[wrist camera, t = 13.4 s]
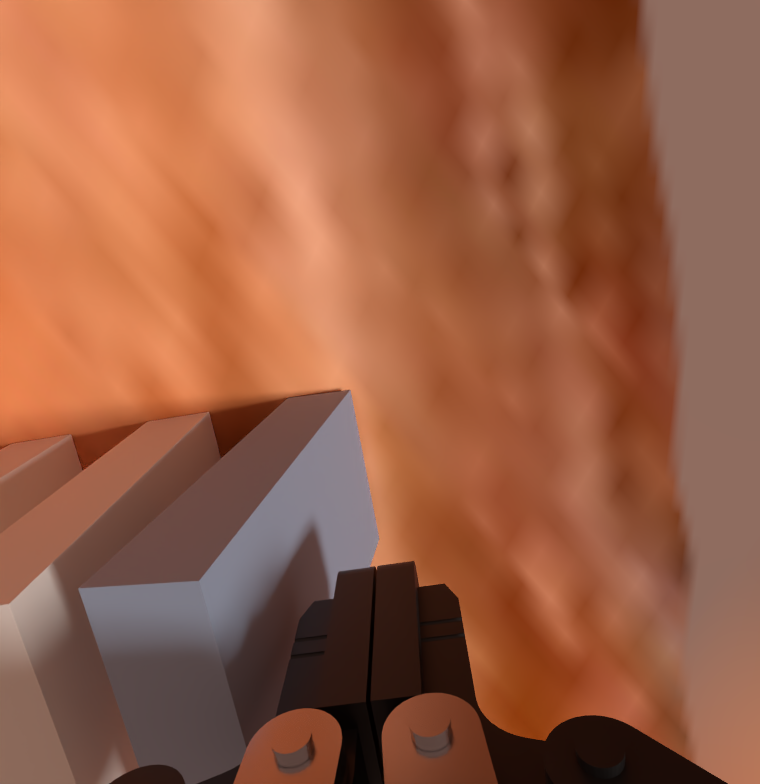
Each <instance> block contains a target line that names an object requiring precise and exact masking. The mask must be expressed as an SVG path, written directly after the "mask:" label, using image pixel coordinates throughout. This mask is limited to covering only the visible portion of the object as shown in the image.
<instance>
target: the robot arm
mask: <svg viewBox="0 0 760 784" xmlns="http://www.w3.org/2000/svg"><path fill="white" fill-rule="evenodd" d="M109 784H185V781H184V779H183V777H182V775H181V774H180V772H179V771H178V770H176V769H175V768H173V767H170V766H167V765H160V764H157V765H148V766H143V767H140V768H137V769H134V770H132V771H129V772H127V773H125V774H123V775H122V776H120V777H118V778H117V779H115V780H113V781H112V782H111V783H109ZM197 784H728V783H726V782H724V781H722V780H721V779H719V778H718V777H716V776H714V775H712V774H711V773H709V772H707V771H706V770H704V769H702V768H701V767H699V766H697V765H696V764H694V763H692V762H691V761H689V760H687V759H686V758H684V757H682V756H681V755H679V754H677V753H676V752H674V751H672V750H670V749H669V748H667V747H665V746H664V745H662V744H660V743H659V742H657V741H655V740H654V739H652V738H650V737H649V736H647V735H645V734H644V733H642V732H640V731H639V730H637V729H635V728H634V727H632V726H630V725H628V724H626V723H624V722H622V721H619V720H616V719H613V718H609V717H605V716H596V715H591V716H580V717H575V718H572V719H569V720H567V721H565V722H563V723H561V724H559V725H558V726H557V727H555V728H554V729H553V731H552V732H551V733H550V734H549V736H548V737H547V739H546V741H542V740H536V739H530V738H524V737H520V736H516V735H513V734H510V733H508V732H506V731H504V730H502V729H500V728H498V727H497V726H495V725H494V724H492V723H491V722H490V721H489V720H488V719H487V718H486V717H485V716H484V714H483V713H482V712H481V710H480V708H479V706H478V704H477V701H476V697H475V691H474V685H473V679H472V674H471V668H470V662H469V657H468V651H467V645H466V640H465V634H464V628H463V623H462V617H461V611H460V605H459V600H458V598H457V596H456V595H455V594H454V593H453V592H452V591H451V590H450V589H449V588H448V587H447V586H446V585H445V584H438V585H431V586H423V587H419V584H418V578H417V572H416V566H415V562H414V561H411V562H404V563H396V564H389V565H382V566H378V567H377V570H376V567H368V568H360V569H353V570H346V571H339V572H338V575H337V580H336V586H335V592H334V598H333V599H327V600H319V601H314V602H313V603H312V604H311V606H310V607H309V608H308V609H307V611H306V612H305V613H304V614H303V616H302V617H301V618H300V619H299V623H298V627H297V631H296V635H295V643H293V647H292V651H291V659H290V660H289V663H288V668H287V672H286V676H285V680H284V684H283V688H282V692H281V696H280V700H279V704H278V708H277V712H276V716H275V718H273V719H272V720H270V721H269V722H267V723H266V724H265V725H264V726H262V727H261V728H260V729H259V730H258V731H257V733H256V734H255V735H254V736H253V738H252V739H251V741H250V742H249V744H248V746H247V748H246V751H245V754H244V756H243V759H242V762H241V764H239V765H238V766H236V767H234V768H233V769H231V770H229V771H226V772H224V773H222V774H219V775H217V776H214V777H212V778H209V779H207V780H204V781H202V782H199V783H197Z"/></svg>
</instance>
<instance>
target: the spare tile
mask: <svg viewBox="0 0 760 784" xmlns="http://www.w3.org/2000/svg"><path fill="white" fill-rule="evenodd" d="M378 541H379V535H378V530H377V524H376V519H375V514H374V509H373V504H372V499H371V494H370V488H369V483H368V478H367V473H366V468H365V463H364V458H363V452H362V447H361V442H360V437H359V432H358V427H357V422H356V416H355V411H354V406H353V401H352V396H351V391H350V390H345V391H338V392H330V393H322V394H314V395H306V396H299V397H291V398H287V399H286V400H285V401H284V402H283V403H282V404H281V405H279V406H278V407H277V408H276V409H275V410H274V411H273V412H272V413H271V414H270V415H268V416H267V417H266V418H265V419H264V420H263V421H262V422H261V423H260V424H258V425H257V426H256V427H255V428H254V429H253V430H252V431H251V432H250V433H249V434H247V435H246V436H245V437H244V438H243V439H242V440H241V441H240V442H239V443H238V444H236V445H235V446H234V447H233V448H232V449H231V450H230V451H229V452H228V453H227V454H225V455H224V456H223V457H222V458H221V459H220V460H219V461H218V462H217V463H216V464H214V465H213V466H212V467H211V468H210V469H209V470H208V471H207V472H206V473H205V474H203V475H202V476H201V477H200V478H199V479H198V480H197V481H196V482H195V483H194V484H192V485H191V486H190V487H189V488H188V489H187V490H186V491H185V492H184V493H183V494H181V495H180V496H179V497H178V498H177V499H176V500H175V501H174V502H173V503H172V504H170V505H169V506H168V507H167V508H166V509H165V510H164V511H163V512H162V513H161V514H159V515H158V516H157V517H156V518H155V519H154V520H153V521H152V522H151V523H150V524H148V525H147V526H146V527H145V528H144V529H143V530H142V531H141V532H140V533H139V534H137V535H136V536H135V537H134V538H133V539H132V540H131V541H130V542H129V543H128V544H126V545H125V546H124V547H123V548H122V549H121V550H120V551H119V552H118V553H117V554H115V555H114V556H113V557H112V558H111V559H110V560H109V561H108V562H107V563H105V564H104V565H103V566H102V567H101V568H100V569H99V570H98V571H97V572H96V573H94V574H93V575H92V576H91V577H90V578H89V579H88V580H87V581H86V582H85V583H83V584H82V585H81V586H80V587H79V588H78V589H79V592H80V595H81V598H82V601H83V604H84V607H85V610H86V613H87V616H88V619H89V622H90V625H91V628H92V631H93V633H94V636H95V639H96V642H97V645H98V648H99V651H100V654H101V657H102V660H103V663H104V666H105V669H106V672H107V675H108V678H109V680H110V683H111V686H112V689H113V692H114V695H115V698H116V701H117V704H118V707H119V710H120V713H121V716H122V719H123V722H124V724H125V727H126V730H127V733H128V736H129V739H130V742H131V745H132V748H133V751H134V754H135V757H136V760H137V763H138V766H139V768H140V767H143V766H148V765H157V764H160V765H167V766H170V767H173V768H175V769H176V770H178V771H179V772H180V774H181V775H182V777H183V779H184V781H185V784H197V783H199V782H202V781H204V780H207V779H209V778H212V777H214V776H217V775H219V774H222V773H224V772H226V771H229V770H231V769H233V768H234V767H236V766H238V765H239V764H241V762H242V759H243V756H244V754H245V751H246V748H247V746H248V744H249V742H250V741H251V739H252V738H253V736H254V735H255V734H256V733H257V731H258V730H259V729H260V728H261V727H262V726H264V725H265V724H266V723H267V722H269V721H270V720H272V719H273V718H275V716H276V712H277V708H278V704H279V700H280V696H281V692H282V688H283V684H284V680H285V676H286V672H287V668H288V663H289V660H290V659H291V651H292V647H293V643H295V635H296V631H297V627H298V623H299V619H300V618H301V617H302V616H303V614H304V613H305V612H306V611H307V609H308V608H309V607H310V606H311V604H312V603H313V602H314V601H319V600H327V599H333V598H334V592H335V586H336V580H337V575H338V572H339V571H346V570H353V569H360V568H368V567H370V565H371V562H372V559H373V556H374V553H375V550H376V547H377V544H378Z"/></svg>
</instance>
